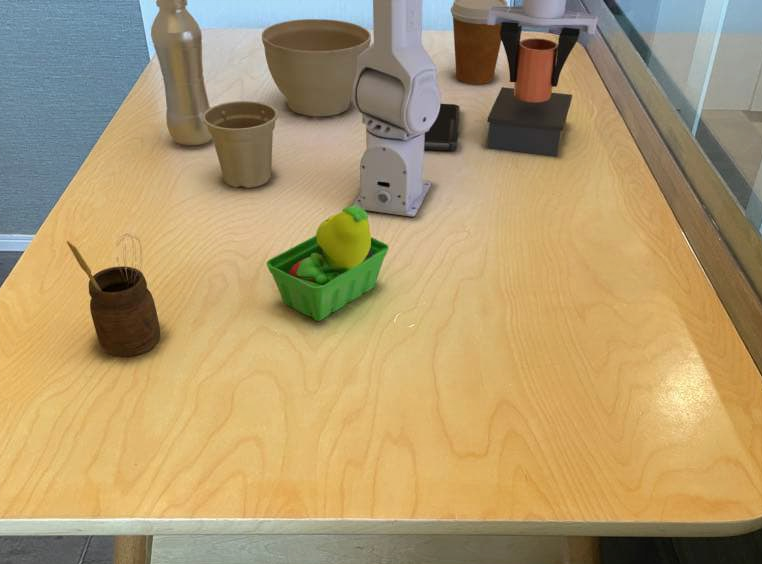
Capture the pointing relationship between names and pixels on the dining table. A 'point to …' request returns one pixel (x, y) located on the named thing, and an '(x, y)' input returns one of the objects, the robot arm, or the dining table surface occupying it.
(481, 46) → the disposable coffee cup
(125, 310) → the utensil holder
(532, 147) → the container
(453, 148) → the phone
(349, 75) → the planter bowl
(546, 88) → the cup
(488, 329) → the dining table surface
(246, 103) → the flower pot
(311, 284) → the fruit basket
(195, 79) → the plastic bottle
